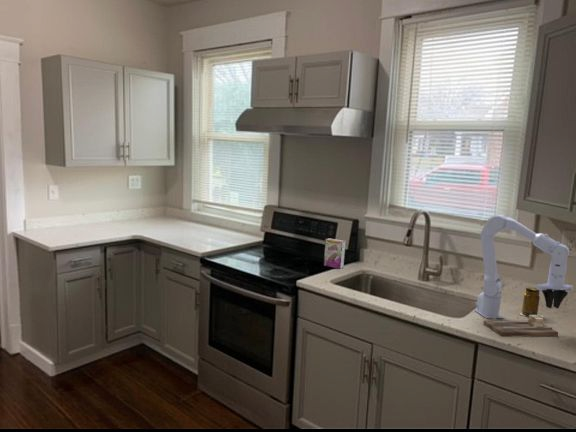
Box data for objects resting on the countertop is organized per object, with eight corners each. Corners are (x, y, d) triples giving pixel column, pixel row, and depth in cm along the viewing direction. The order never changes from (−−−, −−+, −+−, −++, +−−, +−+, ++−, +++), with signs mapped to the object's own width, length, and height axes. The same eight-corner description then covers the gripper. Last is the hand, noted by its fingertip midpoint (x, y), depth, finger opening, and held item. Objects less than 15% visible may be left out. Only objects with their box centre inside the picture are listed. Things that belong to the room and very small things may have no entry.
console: (483, 324, 180) (484, 318, 180) (536, 324, 183) (537, 318, 183) (501, 336, 168) (501, 330, 168) (557, 335, 172) (558, 330, 171)
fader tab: (527, 323, 178) (529, 314, 178) (534, 323, 179) (535, 315, 178) (535, 328, 174) (536, 319, 174) (542, 328, 174) (543, 319, 174)
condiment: (523, 311, 199) (526, 285, 198) (544, 316, 194) (547, 290, 192) (518, 314, 194) (522, 288, 192) (539, 320, 188) (543, 293, 187)
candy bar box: (323, 266, 261) (325, 239, 259) (326, 264, 265) (328, 237, 263) (340, 269, 256) (342, 241, 253) (343, 267, 260) (345, 240, 258)
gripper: (547, 277, 169) (542, 310, 171) (581, 277, 171) (576, 311, 173) (535, 272, 176) (530, 304, 178) (567, 272, 178) (562, 305, 180)
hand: (552, 307), depth 176 cm, fingers open, 3 cm apart
